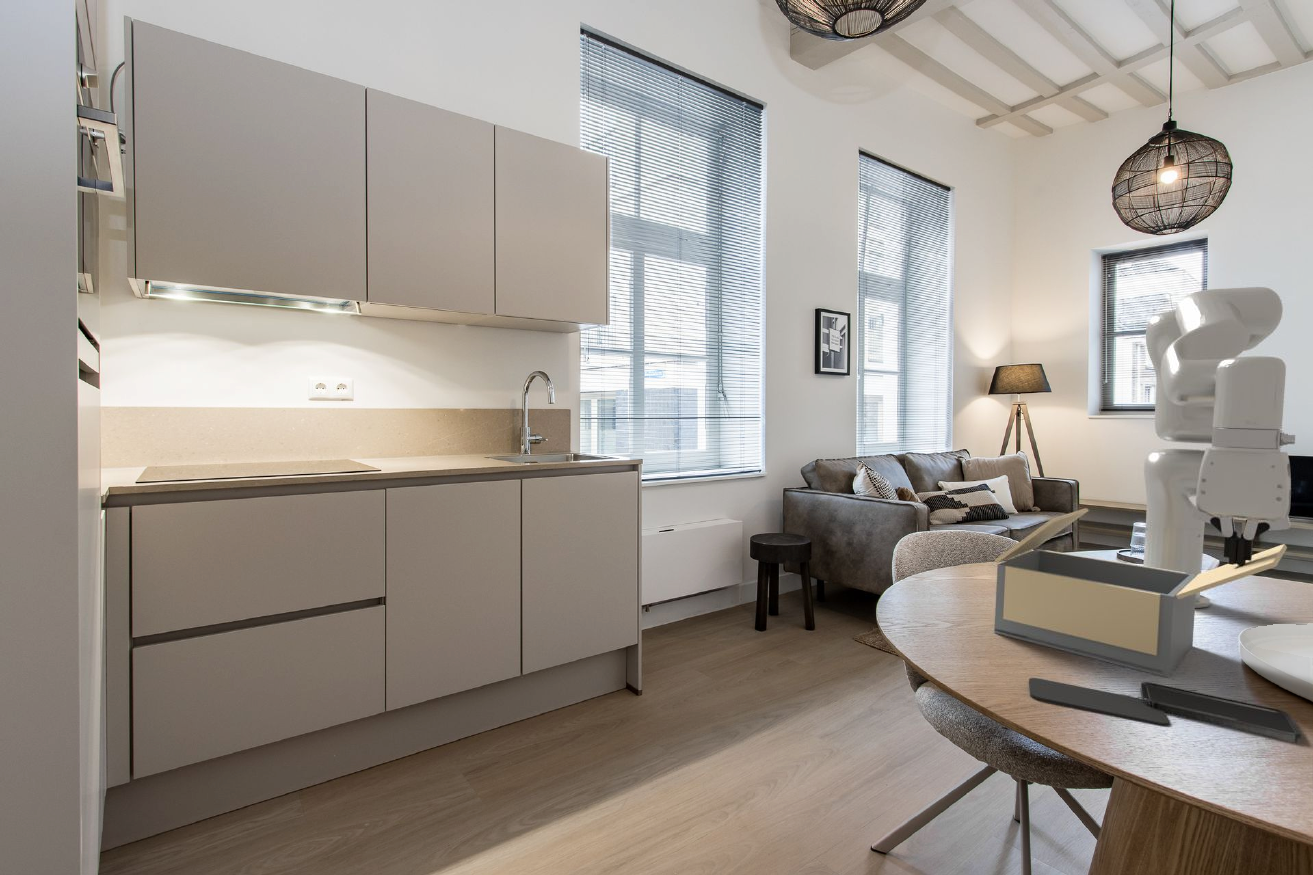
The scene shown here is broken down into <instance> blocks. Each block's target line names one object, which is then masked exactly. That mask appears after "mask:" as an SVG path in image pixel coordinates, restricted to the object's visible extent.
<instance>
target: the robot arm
mask: <svg viewBox="0 0 1313 875" xmlns="http://www.w3.org/2000/svg"><path fill="white" fill-rule="evenodd" d="M1282 318H1283V303H1282V300H1281V297H1280V295H1279V294H1278V293H1277V292H1276V291H1275V290H1273V289H1271V288H1269V287H1265V286H1252V287H1251V286H1250V287H1233V288H1232V287H1231V288H1212V289H1205V290H1204V289H1202V290H1199V291H1195V292H1192V293H1190V294H1188V295H1187V296H1185V297H1184V298H1182V299H1181V300H1180V302H1179V303H1178V305H1177V306H1176V309H1175V310H1170V311H1166V312H1165V311H1164V312H1160V313H1158V314H1155V315H1153V316H1152V317H1151V318H1150V319H1149V320H1148V322H1147V325H1146V327H1145V328H1146V329H1145V344H1146V349H1147V352H1148V356H1149V358H1150V359H1149V360H1150V361H1151V364H1152V366H1153V369H1154V372H1155V378H1156V382H1155V383H1156V384H1155V385H1156V387H1155V402H1154V403H1155V404H1154V429H1155V434H1156V435H1157V437H1158V438H1159V439H1161V440H1163V441H1167V442H1173V443H1184V444H1186V443H1187V444H1207V445H1208V444H1209V445H1210V444H1211V447H1210V448H1209V447H1208V448H1205V449H1204V450H1203V449H1189V448H1187V449H1186V448H1164V449H1163V448H1162V449H1157V450H1154V451H1152V452H1151V453H1150V454H1148V455H1147V456H1146V458H1145V459H1144V463H1143V475H1144V477H1143V478H1144V482H1145V483H1144V484H1145V493H1146V494H1145V495H1146V513H1145V514H1146V515H1145V516H1146V517H1145V535H1144V550H1143V565H1142V566H1148V567H1154V568H1160V569H1167V570H1173V571H1179V572H1185V573H1188V574H1194V575H1198V574H1201V573H1202V572H1203V571H1202V570H1203V569H1202V568H1203V556H1204V555H1203V553H1204V539H1205V538H1204V537H1205V536H1204V535H1205V524H1206V523H1208V524H1211V525H1212V526H1213V527H1214V528H1216V529H1217V530H1218V531H1219V532H1220V533H1221V535H1222V536H1223V537H1224V542H1223V543H1224V545H1223V557H1224V558H1228V564H1231V565H1234V564H1237V565H1238V566H1243V565H1244V564H1245V563H1246V560H1248V561H1251V559H1252V555H1253V545H1254V544H1253V543H1254V539H1255V538H1257V537H1259V536H1260V535H1262V534H1264V533H1265V532H1267V531H1268V532H1269V531H1283V530H1285V531H1286V530H1289V529H1290V528H1291V526H1292V525H1291V521H1290V517H1289V514H1290V510H1291V497H1292V495H1291V494H1292V491H1291V490H1292V488H1291V486H1292V484H1291V483H1292V481H1291V480H1292V479H1291V476H1292V475H1291V464H1290V458H1289V453H1288V452H1287V451H1281V448H1282V447H1283V446H1288V445H1296V444H1295V443H1296V435H1295V434H1289V433H1285V432H1283V418H1284V417H1283V416H1284V402H1285V400H1284V399H1285V390H1286V388H1285V387H1286V377H1287V376H1286V375H1287V374H1286V373H1287V372H1286V371H1287V370H1286V368H1287V367H1286V366H1287V365H1286V363H1285V362H1284V360H1283V359H1281V358H1279V357H1275V356H1265V355H1264V356H1256V355H1254V356H1239V355H1240V354H1242V353H1243V352H1245V351H1250V350H1252V349H1255V348H1256V347H1257V346H1258V345H1259V344H1260V343H1262V342H1263V341H1264V340H1266V339H1267V338H1269V336H1270V335H1272V334H1273V333H1274V331H1275V330H1276V329H1277V328H1278V326H1279V325H1280V323H1281V320H1282ZM1191 497H1195V504H1194V503H1193V502H1192V501H1191V499H1190V498H1191ZM1234 518H1237V519H1238V518H1239V519H1247V520H1246V523H1245V528H1244V531H1243V533H1241V534H1240V537H1239V536H1238V531H1236V528H1235V520H1234ZM1210 603H1211V601H1210V599H1209V598H1208V597H1206V596H1204V595H1202V594H1201V592H1199V593H1196V599H1195V609H1197V608H1198V609H1201V608H1202V609H1203V608H1207V607H1209V606H1210Z"/></svg>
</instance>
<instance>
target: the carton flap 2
mask: <svg viewBox="0 0 1313 875" xmlns="http://www.w3.org/2000/svg"><path fill="white" fill-rule="evenodd" d="M1287 549H1288V547H1287V545H1286V544H1285V543H1283V544H1280V545H1278V546H1275V547H1272V548H1269V549H1266V550H1262V551H1261V552H1257V553H1255V554H1252V559H1251V561H1248V560H1246V563H1245V564H1244V565H1243V566H1238V565H1237V564H1234V565H1231V564H1229V563H1227V564H1224V565H1222V566H1221V565H1220V566H1217V567H1215V568H1213V569H1210V570H1206V571H1205V572H1203V571H1202V572H1201V574H1198V575H1197V576H1196V577H1195V578H1194V579H1193V580H1192V581H1191V582H1190V583H1188V584H1187V585H1186V586H1185V587H1184V588H1183V589H1182V590H1181V591H1180V592H1179V593H1178V594H1177V595H1176V597H1177V598H1178V599H1181V598H1184V597H1187V596H1190V595H1193V594H1196V593H1199V592H1200V593H1202V592H1204V591H1207V590H1210V589H1214V588H1217V587H1219V586H1223V585H1226V584H1228V583H1232V582H1234V581H1238V580H1240V579H1243V578H1246V577H1249V576H1252V575H1255V574H1258V573H1260V572H1264V571H1267V570H1270V569H1273V568H1276V567H1277V566H1278V565H1279V562H1281V559H1282V557H1283V556H1284V554H1285V552H1286V550H1287Z"/></svg>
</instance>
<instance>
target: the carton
mask: <svg viewBox="0 0 1313 875" xmlns="http://www.w3.org/2000/svg"><path fill="white" fill-rule="evenodd" d="M996 570H997V571H996V587H995V588H996V592H995V612H994V630H993V631H994V634H998V635H1001V636H1005V637H1009V638H1014V639H1016V640H1021V641H1023V642H1028V643H1033V644H1035V645H1036V644H1037V645H1040V646H1043V647H1048V648H1052V649H1056V650H1059V651H1063V652H1067V653H1072V654H1075V655H1080V656H1083V657H1087V658H1091V659H1094V660H1098V661H1102V662H1106V663H1111V664H1114V665H1118V666H1122V667H1126V668H1130V669H1133V670H1136V671H1137V670H1138V671H1141V672H1145V673H1147V674H1149V673H1150V674H1154V675H1156V676H1160V677H1164V678H1168V679H1169V678H1170V677H1171V676H1172V674H1173V673H1174V672H1175V670H1176V668H1177V667H1178V666H1179V665H1180V663H1181V662H1182V661H1183V660H1184V658H1185V657H1186V656H1187V654H1188V653H1189V652H1190V650H1191V649H1192V647H1193V644H1194V629H1195V611H1196V608H1195V599H1196V594H1193V595H1190V596H1187V597H1184V598H1181V599H1178V598H1177V597H1176V595H1177V594H1178V593H1179V592H1180V591H1181V590H1182V589H1183V588H1184V587H1185V586H1186V585H1187V584H1188V583H1190V582H1191V581H1192V580H1193V579H1194V578H1195V577H1196V576H1197V575H1194V574H1188V573H1185V572H1179V571H1173V570H1167V569H1160V568H1154V567H1148V566H1143V565H1141V564H1134V563H1129V562H1121V561H1115V560H1109V559H1102V558H1096V557H1091V556H1085V555H1078V554H1072V553H1071V554H1070V553H1066V552H1065V553H1064V552H1060V551H1053V550H1047V549H1046V550H1045V549H1044V550H1043V549H1037V548H1035V549H1033V550H1030V551H1028V552H1025V553H1022V555H1021V554H1020V555H1017V556H1015V557H1014V558H1013V557H1012V558H1010V559H1007V560H1006V561H1005V560H1004V561H1002V562H1001V563H1000V562H999V563H997V569H996Z"/></svg>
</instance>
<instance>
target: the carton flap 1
mask: <svg viewBox="0 0 1313 875" xmlns="http://www.w3.org/2000/svg"><path fill="white" fill-rule="evenodd" d="M1089 511H1090V510H1089V509H1088V508H1087V507H1086V508H1081V509H1079V510H1075V511H1072V512H1069V513H1065V514H1063V515H1060V516H1056V517H1054V518H1050V519H1049V520H1048V521H1047V522H1045V523H1043V525H1041V526H1039V527H1038V528H1037V529H1035V530H1034V531H1033V532H1031V533H1029V535H1027V536H1025V538H1022V539H1021V540H1020V541H1019V542H1017V543H1016V544H1014V545H1013V546H1012V547H1011V548H1009V549H1008V550H1006V551H1005V552H1003V553H1002V554H1000V555H999V556H998V557H996V559H994V562H995V563H996V564H999V563H1000V562H1001V563H1002V562H1004V561H1005V560H1006V561H1007V560H1010V559H1012V558H1013V557H1014V558H1015V557H1017V556H1020V555H1021V554H1022V555H1023V554H1025V553H1028V552H1031V551H1033V550H1036V549H1037V548H1038V547H1039V546H1041V545H1042V544H1044V543H1045V542H1046V541H1048V540H1049V539H1050V538H1052V537H1054V536H1055V535H1056V534H1057V533H1059V532H1061V531H1062V530H1063V529H1065V528H1066V527H1068V526H1069V525H1070V524H1072V523H1074V522H1075V521H1076V520H1078V519H1079V518H1080V517H1082V516H1083V515H1085V514H1086V513H1088V512H1089Z"/></svg>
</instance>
